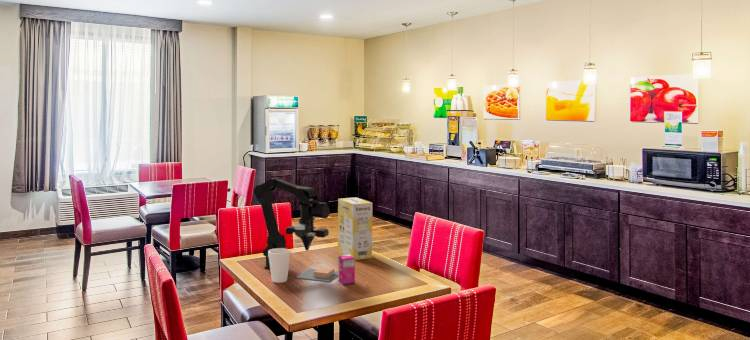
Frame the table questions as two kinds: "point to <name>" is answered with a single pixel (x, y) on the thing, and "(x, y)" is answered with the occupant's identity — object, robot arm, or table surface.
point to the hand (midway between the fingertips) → (307, 250)
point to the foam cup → (279, 264)
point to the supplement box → (346, 269)
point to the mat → (310, 276)
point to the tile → (324, 272)
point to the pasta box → (355, 227)
